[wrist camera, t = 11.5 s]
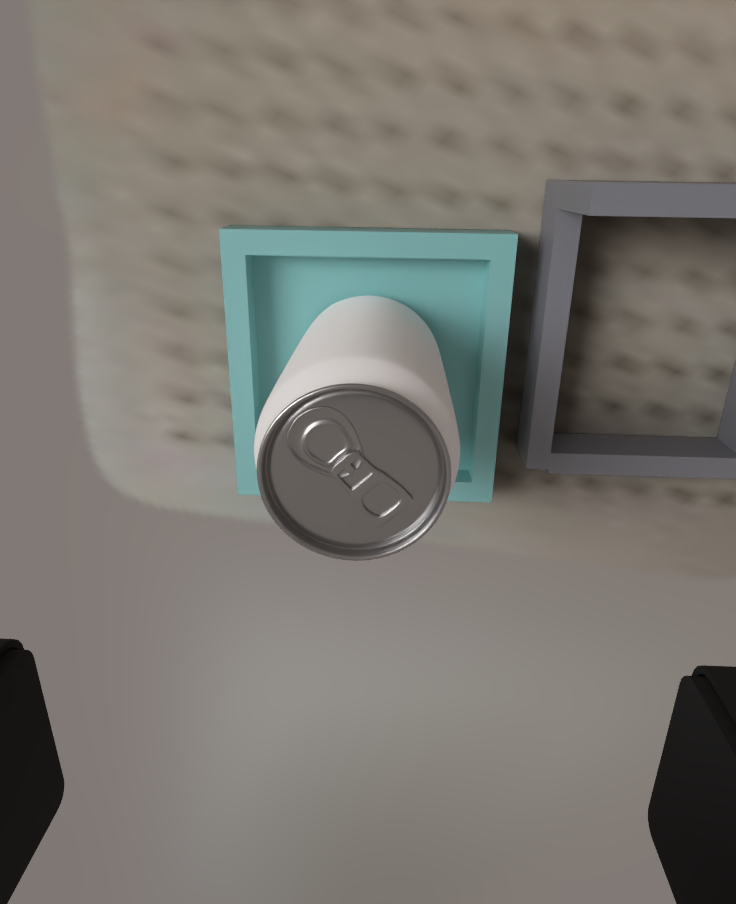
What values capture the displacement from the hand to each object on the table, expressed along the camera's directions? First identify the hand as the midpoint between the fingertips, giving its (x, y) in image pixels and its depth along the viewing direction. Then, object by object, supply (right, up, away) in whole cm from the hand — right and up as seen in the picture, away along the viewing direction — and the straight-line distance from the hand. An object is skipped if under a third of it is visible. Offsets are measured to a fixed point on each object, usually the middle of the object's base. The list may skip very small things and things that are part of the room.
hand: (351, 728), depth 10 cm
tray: (0, +8, +21) cm, 22 cm away
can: (0, +8, +20) cm, 22 cm away
